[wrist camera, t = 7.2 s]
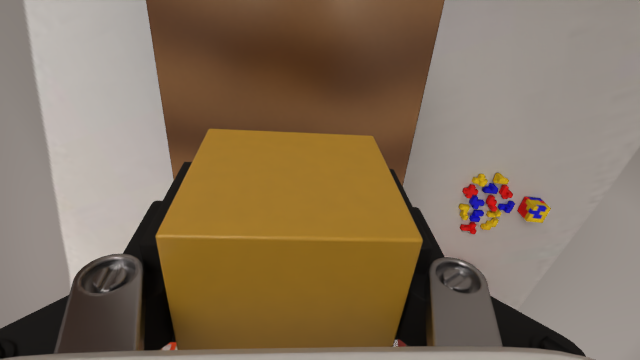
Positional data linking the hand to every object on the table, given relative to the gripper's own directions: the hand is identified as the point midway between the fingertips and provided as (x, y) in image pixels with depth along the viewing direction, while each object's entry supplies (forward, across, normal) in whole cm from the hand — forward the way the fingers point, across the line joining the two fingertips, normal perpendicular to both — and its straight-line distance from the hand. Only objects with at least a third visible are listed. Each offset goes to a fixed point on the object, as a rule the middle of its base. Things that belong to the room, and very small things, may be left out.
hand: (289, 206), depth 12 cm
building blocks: (+18, -20, +11) cm, 29 cm away
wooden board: (+11, 0, +2) cm, 11 cm away
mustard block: (0, 0, 0) cm, 0 cm away
